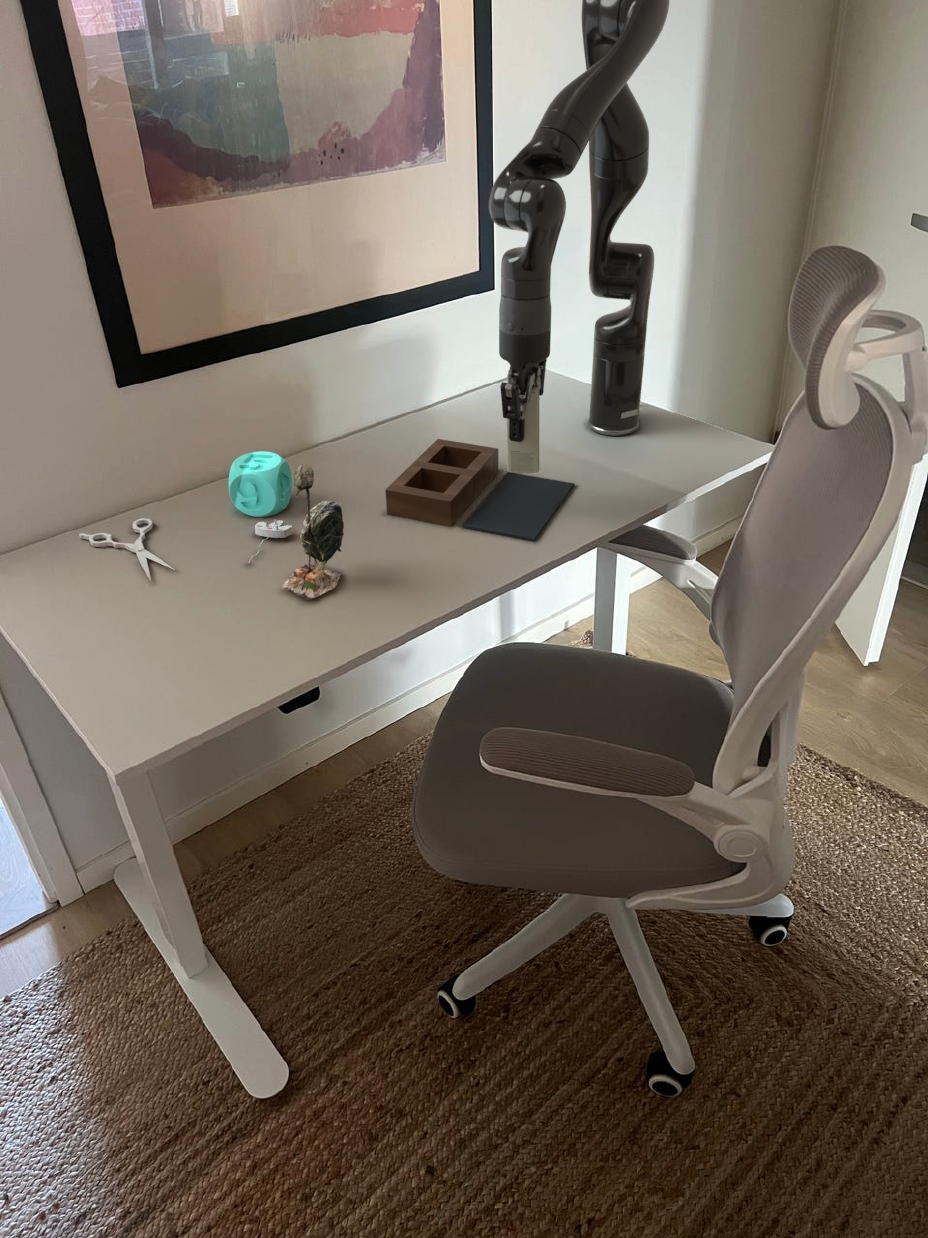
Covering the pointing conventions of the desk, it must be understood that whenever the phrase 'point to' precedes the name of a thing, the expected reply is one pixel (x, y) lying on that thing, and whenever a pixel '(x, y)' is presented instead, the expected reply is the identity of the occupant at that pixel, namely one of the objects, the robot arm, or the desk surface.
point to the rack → (442, 482)
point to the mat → (519, 506)
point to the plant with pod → (316, 541)
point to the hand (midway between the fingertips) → (523, 432)
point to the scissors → (135, 547)
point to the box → (526, 440)
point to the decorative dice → (260, 484)
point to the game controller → (272, 530)
